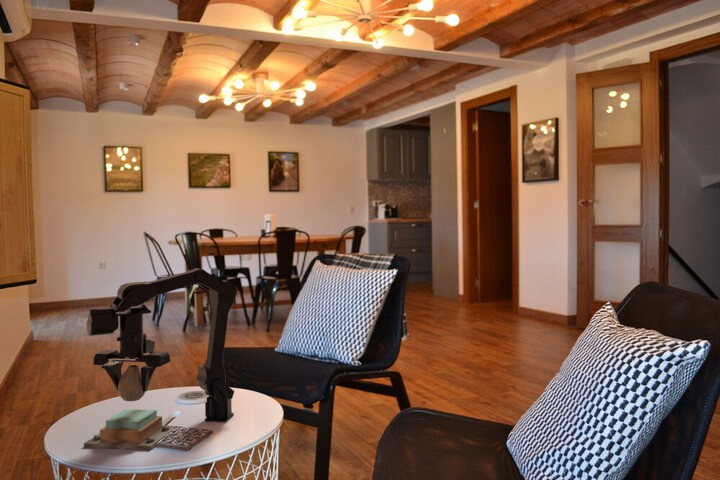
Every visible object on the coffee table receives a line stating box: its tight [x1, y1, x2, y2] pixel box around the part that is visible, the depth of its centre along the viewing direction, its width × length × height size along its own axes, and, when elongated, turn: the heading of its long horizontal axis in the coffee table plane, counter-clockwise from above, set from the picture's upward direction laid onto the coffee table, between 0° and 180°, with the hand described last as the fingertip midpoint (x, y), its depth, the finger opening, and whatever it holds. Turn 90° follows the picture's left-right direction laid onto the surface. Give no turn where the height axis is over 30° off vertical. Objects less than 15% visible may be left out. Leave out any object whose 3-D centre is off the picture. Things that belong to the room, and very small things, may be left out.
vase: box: [117, 364, 146, 402], centre depth 147 cm, size 7×7×9 cm
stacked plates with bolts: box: [83, 408, 178, 451], centre depth 146 cm, size 18×14×6 cm
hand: (132, 391), depth 147 cm, fingers closed on vase, 7 cm apart
